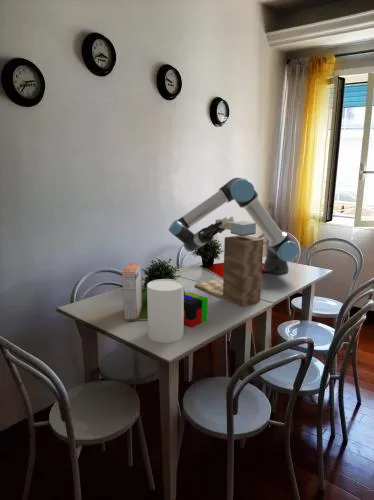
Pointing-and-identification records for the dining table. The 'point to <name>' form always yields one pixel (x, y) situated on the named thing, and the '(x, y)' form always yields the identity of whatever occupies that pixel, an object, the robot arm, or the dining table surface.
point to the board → (212, 287)
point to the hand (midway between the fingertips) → (229, 219)
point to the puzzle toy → (194, 309)
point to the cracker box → (132, 291)
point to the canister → (165, 310)
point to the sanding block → (240, 227)
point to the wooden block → (242, 269)
